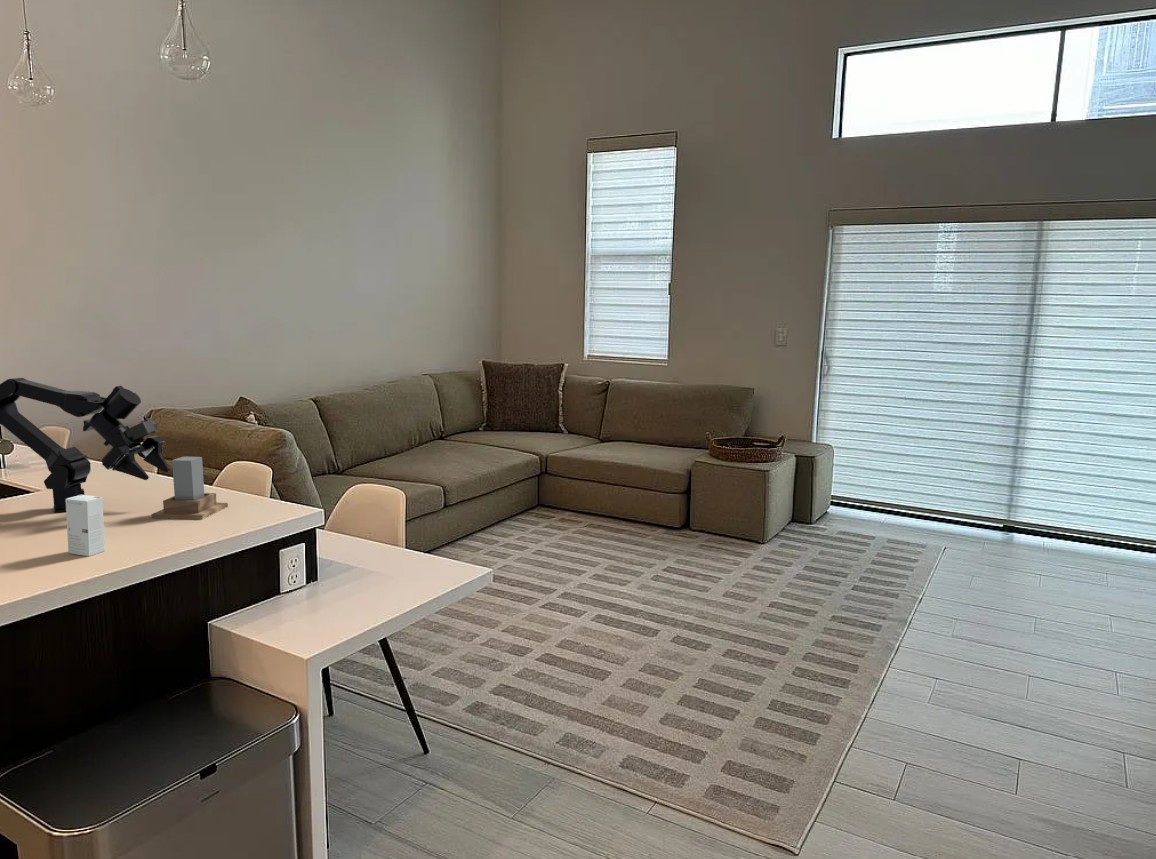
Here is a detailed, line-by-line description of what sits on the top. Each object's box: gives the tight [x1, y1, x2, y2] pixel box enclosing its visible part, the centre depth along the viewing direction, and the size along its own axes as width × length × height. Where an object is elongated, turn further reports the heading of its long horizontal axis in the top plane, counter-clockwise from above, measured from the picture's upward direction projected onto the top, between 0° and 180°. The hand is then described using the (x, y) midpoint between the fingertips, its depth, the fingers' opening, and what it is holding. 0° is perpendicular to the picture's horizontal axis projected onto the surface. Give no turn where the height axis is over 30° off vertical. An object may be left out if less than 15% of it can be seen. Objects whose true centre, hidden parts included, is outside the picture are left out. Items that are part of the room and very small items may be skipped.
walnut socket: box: [151, 492, 229, 520], centre depth 207 cm, size 13×13×4 cm
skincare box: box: [65, 494, 106, 557], centre depth 173 cm, size 6×4×12 cm
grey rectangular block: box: [171, 456, 205, 501], centre depth 206 cm, size 5×5×13 cm
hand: (158, 475), depth 207 cm, fingers open, 9 cm apart
